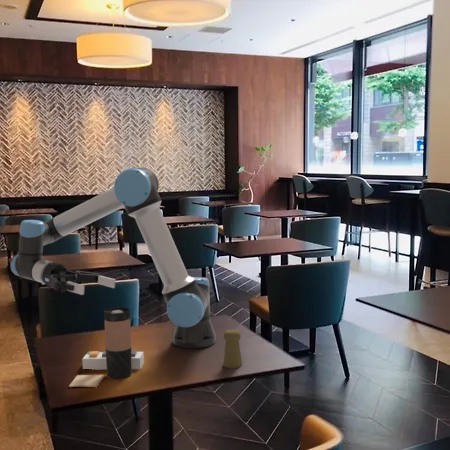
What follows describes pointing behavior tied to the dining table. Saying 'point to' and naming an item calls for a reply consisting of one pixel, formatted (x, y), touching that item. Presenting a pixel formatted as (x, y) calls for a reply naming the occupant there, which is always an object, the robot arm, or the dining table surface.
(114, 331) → the travel mug
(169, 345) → the dining table surface
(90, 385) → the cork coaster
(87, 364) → the socket strip
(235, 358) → the pepper shaker
